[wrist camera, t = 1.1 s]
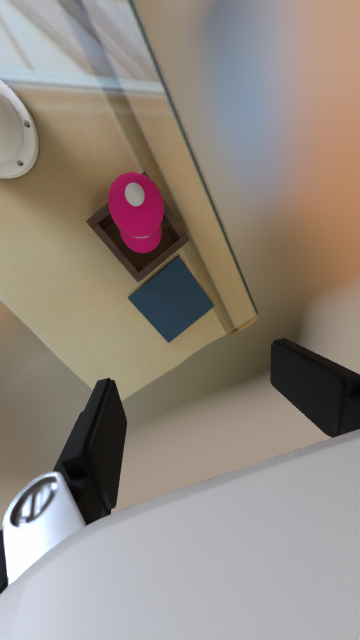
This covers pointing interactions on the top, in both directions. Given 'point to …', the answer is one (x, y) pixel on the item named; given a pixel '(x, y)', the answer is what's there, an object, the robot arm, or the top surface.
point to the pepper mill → (137, 211)
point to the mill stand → (99, 225)
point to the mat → (171, 300)
